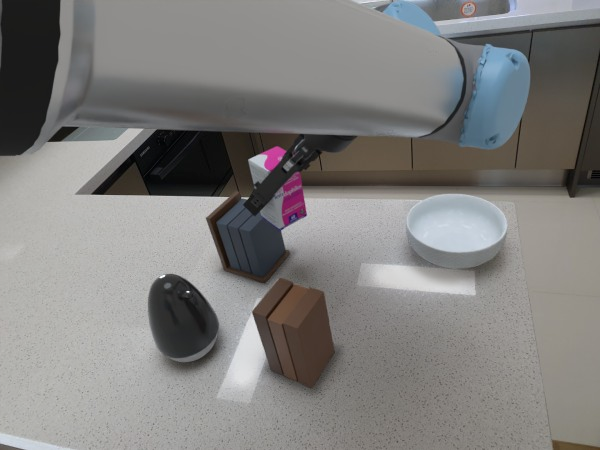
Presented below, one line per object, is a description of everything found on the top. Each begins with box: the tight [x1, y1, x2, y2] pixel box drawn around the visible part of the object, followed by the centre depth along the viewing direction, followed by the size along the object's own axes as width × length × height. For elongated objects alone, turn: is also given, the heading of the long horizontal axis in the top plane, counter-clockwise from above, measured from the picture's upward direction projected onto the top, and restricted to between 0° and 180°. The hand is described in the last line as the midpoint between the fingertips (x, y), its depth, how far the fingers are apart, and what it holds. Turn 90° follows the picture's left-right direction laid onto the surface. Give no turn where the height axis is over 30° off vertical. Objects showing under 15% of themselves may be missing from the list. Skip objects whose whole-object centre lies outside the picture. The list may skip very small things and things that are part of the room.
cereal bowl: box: [405, 193, 509, 270], centre depth 81 cm, size 17×17×7 cm
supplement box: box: [247, 145, 308, 232], centre depth 74 cm, size 6×6×12 cm
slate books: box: [205, 190, 291, 284], centre depth 86 cm, size 9×10×13 cm
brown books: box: [251, 277, 336, 389], centre depth 66 cm, size 7×7×13 cm
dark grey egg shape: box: [147, 273, 220, 363], centre depth 71 cm, size 10×10×15 cm
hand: (263, 196), depth 77 cm, fingers closed on supplement box, 7 cm apart
